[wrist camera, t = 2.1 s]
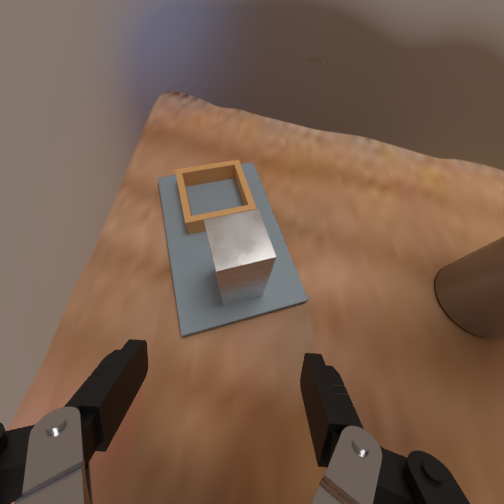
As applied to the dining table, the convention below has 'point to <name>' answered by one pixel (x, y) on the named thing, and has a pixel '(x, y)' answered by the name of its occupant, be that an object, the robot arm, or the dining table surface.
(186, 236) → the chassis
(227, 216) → the brushed metal pillar
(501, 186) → the dining table surface
